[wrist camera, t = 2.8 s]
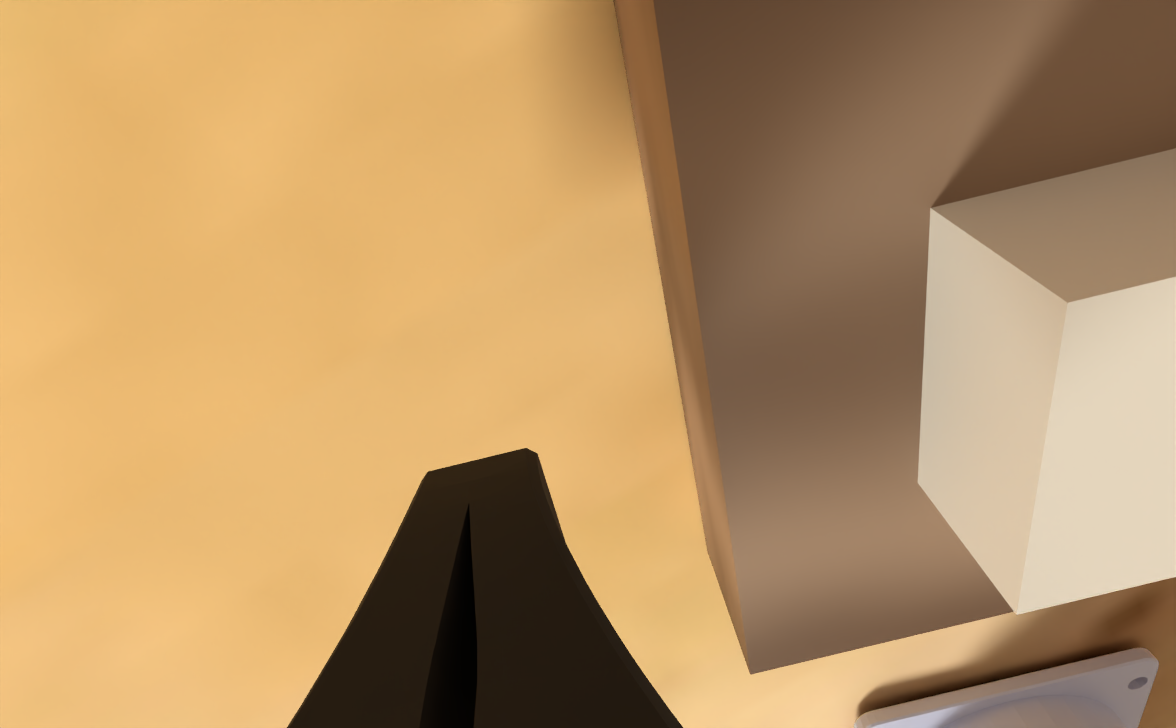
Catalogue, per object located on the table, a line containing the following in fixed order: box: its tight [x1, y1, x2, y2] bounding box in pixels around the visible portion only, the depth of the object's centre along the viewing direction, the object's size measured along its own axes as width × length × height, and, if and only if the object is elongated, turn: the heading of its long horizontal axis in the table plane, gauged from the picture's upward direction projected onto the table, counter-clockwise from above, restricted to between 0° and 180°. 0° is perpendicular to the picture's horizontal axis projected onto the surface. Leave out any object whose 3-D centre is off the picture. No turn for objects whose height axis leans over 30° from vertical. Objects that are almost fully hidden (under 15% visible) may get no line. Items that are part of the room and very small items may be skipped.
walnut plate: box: [614, 0, 1176, 674], centre depth 11 cm, size 12×14×3 cm
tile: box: [918, 148, 1176, 615], centre depth 9 cm, size 4×4×2 cm
